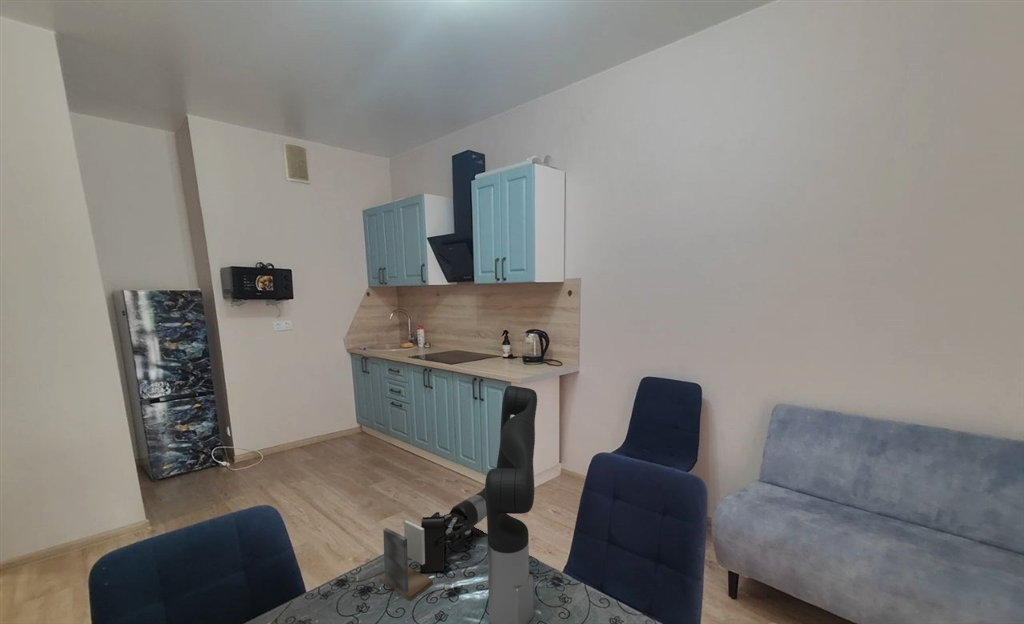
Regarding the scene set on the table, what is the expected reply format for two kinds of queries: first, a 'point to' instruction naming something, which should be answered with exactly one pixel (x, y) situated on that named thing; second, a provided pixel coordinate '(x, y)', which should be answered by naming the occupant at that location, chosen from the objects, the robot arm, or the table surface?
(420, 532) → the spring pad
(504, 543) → the robot arm
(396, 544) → the grey bookend
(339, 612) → the table surface
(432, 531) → the phone stand
